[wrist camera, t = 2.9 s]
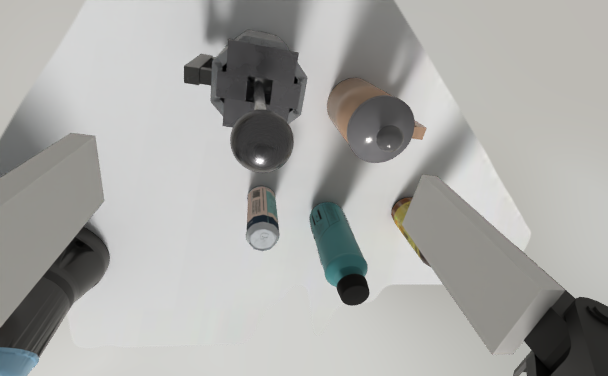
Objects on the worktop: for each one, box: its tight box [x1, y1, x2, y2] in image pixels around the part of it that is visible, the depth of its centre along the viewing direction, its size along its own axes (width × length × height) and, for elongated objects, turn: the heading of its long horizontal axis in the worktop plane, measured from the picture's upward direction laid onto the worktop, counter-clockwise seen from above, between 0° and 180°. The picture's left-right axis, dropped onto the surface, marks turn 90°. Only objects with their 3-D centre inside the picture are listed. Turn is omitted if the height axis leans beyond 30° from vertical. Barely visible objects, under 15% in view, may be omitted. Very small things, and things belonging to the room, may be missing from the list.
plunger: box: [230, 76, 294, 173], centre depth 25 cm, size 6×6×20 cm
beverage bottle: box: [310, 202, 369, 305], centre depth 48 cm, size 6×7×20 cm
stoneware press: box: [327, 78, 426, 163], centre depth 41 cm, size 11×8×17 cm
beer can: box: [246, 186, 279, 251], centre depth 48 cm, size 5×5×12 cm
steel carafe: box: [184, 30, 307, 127], centre depth 36 cm, size 12×9×16 cm
